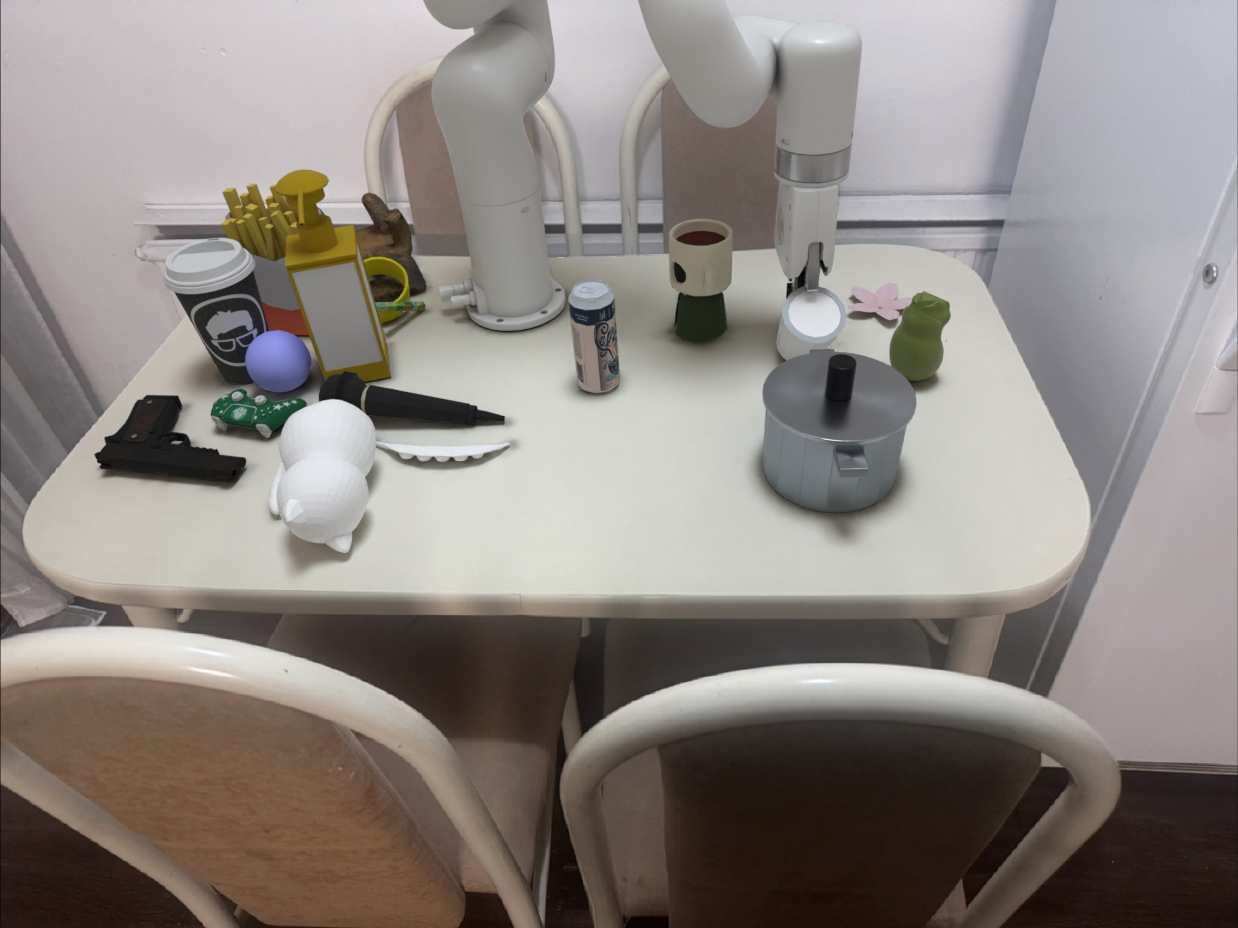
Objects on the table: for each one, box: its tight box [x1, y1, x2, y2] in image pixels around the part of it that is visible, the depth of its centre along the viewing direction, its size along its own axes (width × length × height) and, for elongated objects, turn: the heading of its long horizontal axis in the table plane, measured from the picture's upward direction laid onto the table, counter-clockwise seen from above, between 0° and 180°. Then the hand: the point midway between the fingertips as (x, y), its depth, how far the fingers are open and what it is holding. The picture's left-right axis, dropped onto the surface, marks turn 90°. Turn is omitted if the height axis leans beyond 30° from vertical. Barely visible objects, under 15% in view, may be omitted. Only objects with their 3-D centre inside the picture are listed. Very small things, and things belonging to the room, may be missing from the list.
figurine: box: [317, 192, 427, 302], centre depth 118 cm, size 13×8×20 cm
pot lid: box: [761, 351, 917, 445], centre depth 78 cm, size 14×14×5 cm
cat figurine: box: [267, 399, 377, 554], centre depth 82 cm, size 9×12×15 cm
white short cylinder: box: [775, 286, 848, 361], centre depth 95 cm, size 7×7×7 cm
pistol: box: [93, 394, 247, 484], centre depth 92 cm, size 2×18×12 cm
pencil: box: [375, 301, 427, 312], centre depth 103 cm, size 1×1×18 cm
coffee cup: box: [163, 237, 270, 385], centre depth 99 cm, size 10×10×15 cm
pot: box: [762, 348, 908, 514], centre depth 82 cm, size 13×18×8 cm
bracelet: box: [364, 257, 411, 324], centre depth 110 cm, size 7×8×3 cm
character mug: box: [668, 218, 734, 344], centre depth 99 cm, size 11×7×13 cm, turn 8°
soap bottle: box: [274, 169, 392, 383], centre depth 92 cm, size 7×13×24 cm, turn 15°
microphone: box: [318, 371, 506, 425], centre depth 93 cm, size 6×6×20 cm
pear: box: [889, 290, 952, 382], centre depth 91 cm, size 6×5×10 cm
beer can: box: [567, 279, 621, 394], centre depth 93 cm, size 5×5×12 cm
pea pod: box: [376, 440, 511, 463], centre depth 89 cm, size 15×4×2 cm, turn 87°
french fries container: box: [220, 183, 321, 336], centre depth 104 cm, size 5×11×18 cm, turn 83°
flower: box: [847, 282, 913, 321], centre depth 105 cm, size 10×10×2 cm
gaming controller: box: [210, 388, 308, 439], centre depth 94 cm, size 9×4×6 cm
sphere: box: [245, 330, 312, 393], centre depth 98 cm, size 7×7×7 cm
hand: (800, 315), depth 99 cm, fingers closed
